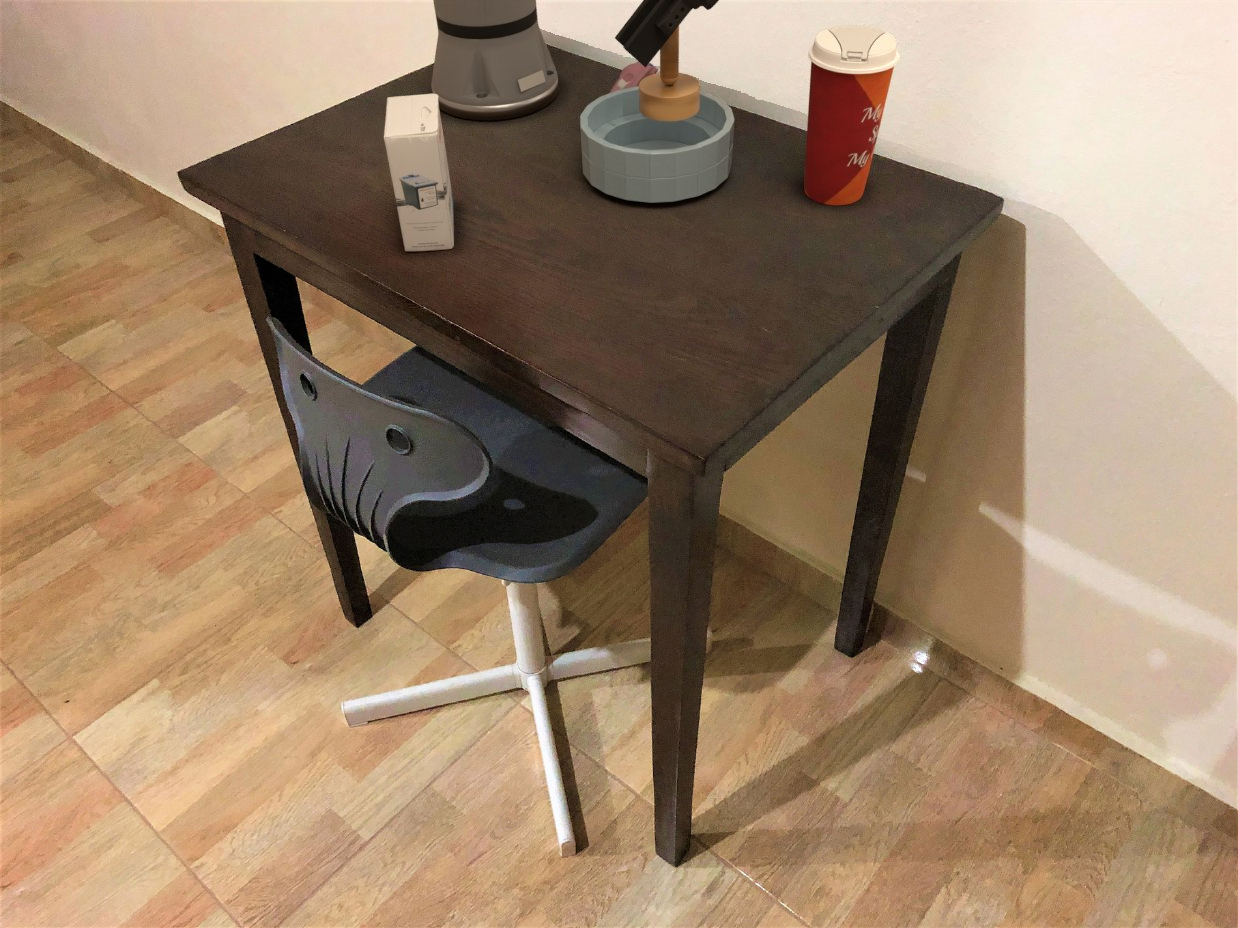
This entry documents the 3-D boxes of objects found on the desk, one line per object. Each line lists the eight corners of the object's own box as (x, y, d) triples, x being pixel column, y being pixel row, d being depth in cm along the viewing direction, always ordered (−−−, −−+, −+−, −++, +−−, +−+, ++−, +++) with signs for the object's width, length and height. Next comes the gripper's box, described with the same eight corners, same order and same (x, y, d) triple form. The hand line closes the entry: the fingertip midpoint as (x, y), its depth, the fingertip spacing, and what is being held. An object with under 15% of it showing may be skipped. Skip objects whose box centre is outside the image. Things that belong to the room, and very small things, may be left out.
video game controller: (614, 147, 106) (639, 96, 101) (581, 124, 106) (604, 73, 101) (645, 110, 113) (670, 61, 107) (613, 89, 112) (637, 39, 107)
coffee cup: (874, 214, 91) (902, 60, 81) (790, 208, 93) (807, 55, 82) (875, 173, 97) (902, 24, 87) (795, 168, 98) (812, 20, 88)
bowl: (554, 169, 100) (549, 115, 96) (664, 125, 106) (665, 72, 102) (647, 226, 91) (646, 169, 87) (761, 175, 98) (766, 119, 93)
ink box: (407, 208, 95) (384, 95, 86) (457, 204, 95) (438, 90, 87) (405, 254, 89) (379, 137, 80) (458, 249, 89) (437, 132, 81)
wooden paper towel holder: (626, 107, 93) (621, -86, 81) (672, 90, 95) (673, -100, 83) (665, 127, 89) (666, -72, 77) (711, 109, 92) (719, -87, 80)
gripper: (876, -126, 76) (684, 107, 85) (796, -162, 86) (631, 49, 95) (826, -197, 72) (628, 57, 80) (747, -227, 82) (578, 1, 90)
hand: (630, 52), depth 87 cm, fingers closed on wooden paper towel holder, 2 cm apart
